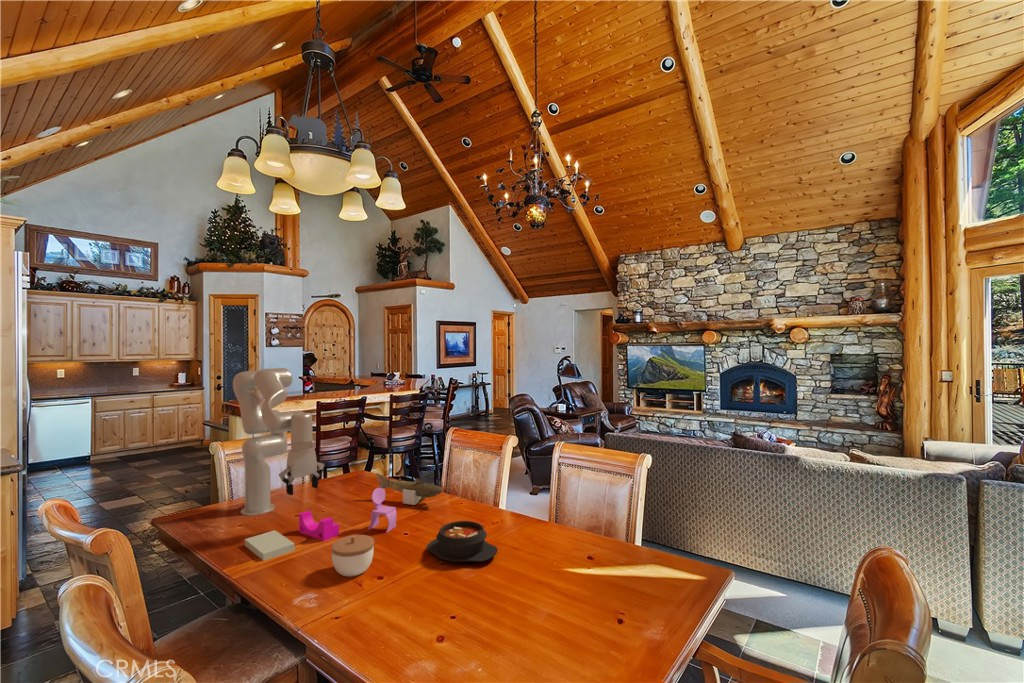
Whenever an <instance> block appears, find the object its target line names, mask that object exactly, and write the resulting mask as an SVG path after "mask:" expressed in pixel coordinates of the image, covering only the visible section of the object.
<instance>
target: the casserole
mask: <svg viewBox="0 0 1024 683" xmlns="http://www.w3.org/2000/svg"><path fill="white" fill-rule="evenodd" d="M487 536H488V534H487V531H486V529H484V526H483V525H482V524H480V523H478V522H477V521H471V520H460V521H458V520H457V521H453V522H449V523H446V524H444V525H443V526H442V527H440V529H439V531H438V533H437V534H436V537H435V538H434V539H433V540H431V541H430V542H429V543H428V544H427V545H426V550H427V551H428V552H430V553H432V554H434V555H435V556H436V557H438V558H439V559H441V560H444V561H447V562H455V563H457V562H459V563H460V562H462V563H463V562H476V563H479V562H480V563H481V562H482V563H483V562H486V561H488V560H490V559H492V558H493V557H495V555H497V553H498V551H499V550H498V549H499V548H498V547H497V546H496V545H494V544H491V543H489V542H487V541H486V540H485V539H486V538H487Z"/></svg>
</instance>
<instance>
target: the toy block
mask: <svg viewBox="0 0 1024 683" xmlns="http://www.w3.org/2000/svg"><path fill="white" fill-rule="evenodd" d="M312 514H313V513H312V511H310V510H306V511H304V512H300V513H298V532H299V533H300V534H303V535H305V536H309V537H311V538H314V539H316V540H320V541H321V542H322V541H323V542H325V541H328V540H330V539H333V538H336V537H338V536H339V535H340V534H339V533H340V532H339V531H340V528H339V527H340V525H339V524H338V523H335V522H334V519H333V518H332V517H329V516H327V517H325V518H322V519H320V520H319V521H318V522H315V521H314V518H313V515H312Z"/></svg>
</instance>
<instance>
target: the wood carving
mask: <svg viewBox="0 0 1024 683" xmlns="http://www.w3.org/2000/svg"><path fill="white" fill-rule="evenodd" d="M375 475H376V480H377V481H378V485H379V488H383V489H392V490H394V491H397V492H399V493H402V504H405V505H410V506H411V505H412V506H415V505H417V504H418V503H422V502H423V501H424V500H425V499H426V498H434V497H436V496H437V495H440V494H441V493H442V492H443V489H444V488H443V487H441V486H439V485H435V484H432V483H428V482H427V483H426V482H423V481H422V480H421V478H419V477H415V481H407V480H403V479H402V478H401V477H399V478H398V479H397V480H396V479H392V478H391V479H389V478H387V477H386V476H385V475H383V474H381V473H378V472H376V474H375Z"/></svg>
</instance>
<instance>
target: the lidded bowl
mask: <svg viewBox="0 0 1024 683" xmlns="http://www.w3.org/2000/svg"><path fill="white" fill-rule="evenodd" d="M330 547H331V559H332V565H333V567H334V569H335V571H336V572H337V573H338V574H340V575H341V576H343V577H349V578H351V577H356V576H359V575H362V574H363V573H365V572H366V571H367V569H368V568H369V567H370V565H371V563H372V562H373V558H374V552H375V550H374V547H375V539H374V537H372V536H370V535H366V534H354V535H353V534H352V535H348V536H344V537H342V538H339V539H337V540H336V541H334V542H333V543H332V544H331V546H330Z"/></svg>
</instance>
